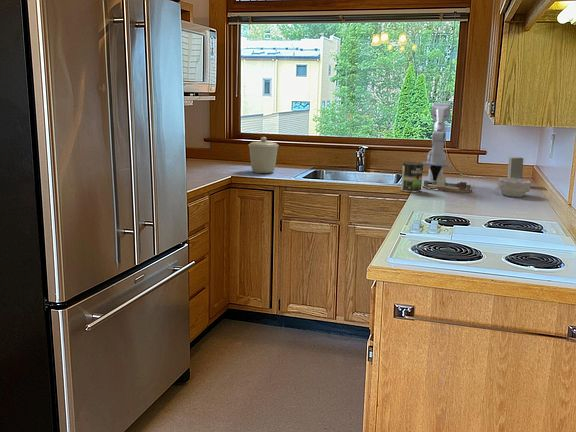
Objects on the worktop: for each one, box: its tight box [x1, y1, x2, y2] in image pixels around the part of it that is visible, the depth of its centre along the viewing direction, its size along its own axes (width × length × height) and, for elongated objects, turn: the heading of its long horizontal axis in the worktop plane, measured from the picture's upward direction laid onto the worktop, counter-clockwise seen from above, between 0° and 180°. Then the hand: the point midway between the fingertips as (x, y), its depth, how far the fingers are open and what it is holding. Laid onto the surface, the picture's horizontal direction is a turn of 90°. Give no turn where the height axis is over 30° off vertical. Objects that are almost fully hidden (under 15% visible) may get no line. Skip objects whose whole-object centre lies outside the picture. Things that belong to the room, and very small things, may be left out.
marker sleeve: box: [435, 175, 447, 188], centre depth 288 cm, size 4×4×6 cm
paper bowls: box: [497, 177, 532, 198], centre depth 276 cm, size 15×15×8 cm
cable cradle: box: [421, 179, 473, 194], centre depth 287 cm, size 10×24×5 cm, turn 62°
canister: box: [247, 136, 280, 174], centre depth 325 cm, size 18×18×21 cm
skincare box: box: [507, 156, 524, 179], centre depth 304 cm, size 8×7×16 cm
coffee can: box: [400, 161, 424, 193], centre depth 280 cm, size 10×10×14 cm
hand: (434, 180), depth 289 cm, fingers closed
